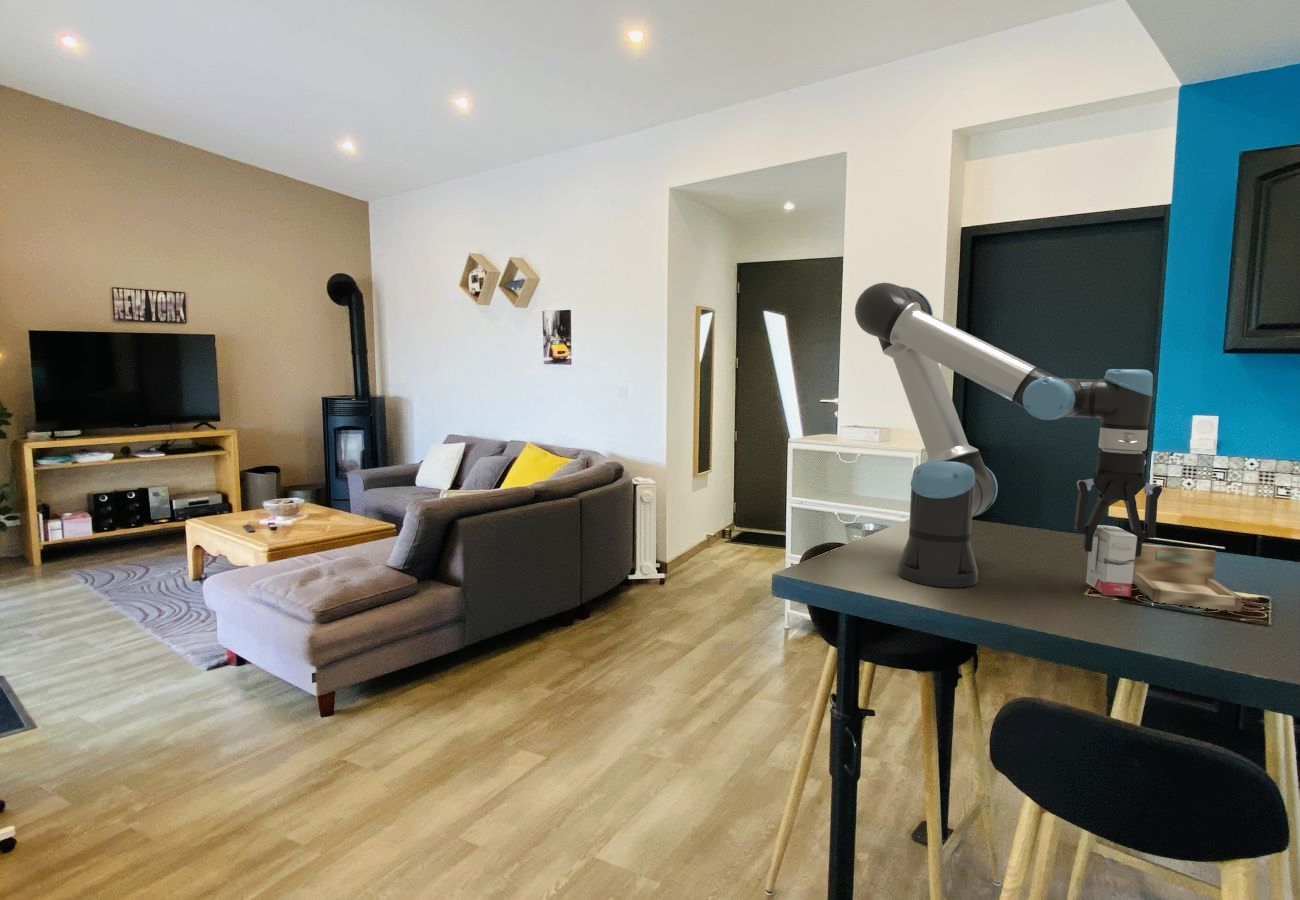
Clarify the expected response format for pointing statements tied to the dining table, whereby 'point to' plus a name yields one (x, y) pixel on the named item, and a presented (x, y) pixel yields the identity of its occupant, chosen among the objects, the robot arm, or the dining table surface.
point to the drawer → (1182, 578)
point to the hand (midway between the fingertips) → (1109, 569)
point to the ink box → (1113, 561)
